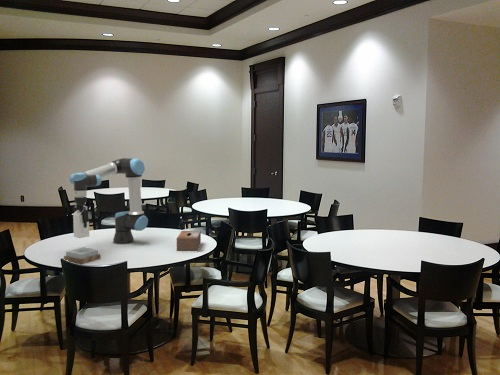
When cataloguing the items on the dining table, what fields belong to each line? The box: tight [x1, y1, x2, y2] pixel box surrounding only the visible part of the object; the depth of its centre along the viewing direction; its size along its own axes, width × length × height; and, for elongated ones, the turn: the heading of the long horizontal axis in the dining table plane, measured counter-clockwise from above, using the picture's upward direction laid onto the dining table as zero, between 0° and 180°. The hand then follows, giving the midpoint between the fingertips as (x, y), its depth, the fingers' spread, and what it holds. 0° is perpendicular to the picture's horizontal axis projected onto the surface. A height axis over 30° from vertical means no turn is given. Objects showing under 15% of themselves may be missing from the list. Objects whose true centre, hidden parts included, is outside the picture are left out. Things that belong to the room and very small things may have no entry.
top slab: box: [65, 246, 99, 259], centre depth 302 cm, size 14×14×3 cm
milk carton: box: [72, 209, 90, 239], centre depth 300 cm, size 7×7×19 cm
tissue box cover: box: [176, 230, 202, 252], centre depth 339 cm, size 26×14×10 cm, turn 1°
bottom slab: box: [63, 253, 101, 265], centre depth 303 cm, size 16×16×3 cm
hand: (81, 231), depth 301 cm, fingers closed on milk carton, 7 cm apart
